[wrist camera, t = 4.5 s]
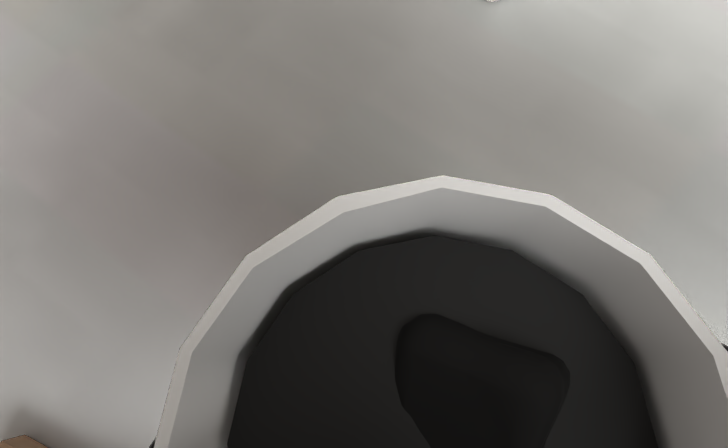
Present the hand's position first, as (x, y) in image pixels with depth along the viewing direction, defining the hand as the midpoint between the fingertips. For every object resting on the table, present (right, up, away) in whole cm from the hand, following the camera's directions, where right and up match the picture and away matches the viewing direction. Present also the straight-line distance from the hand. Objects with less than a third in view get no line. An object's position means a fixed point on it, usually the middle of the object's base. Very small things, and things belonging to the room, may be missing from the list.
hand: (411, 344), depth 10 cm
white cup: (+1, -3, +6) cm, 7 cm away
